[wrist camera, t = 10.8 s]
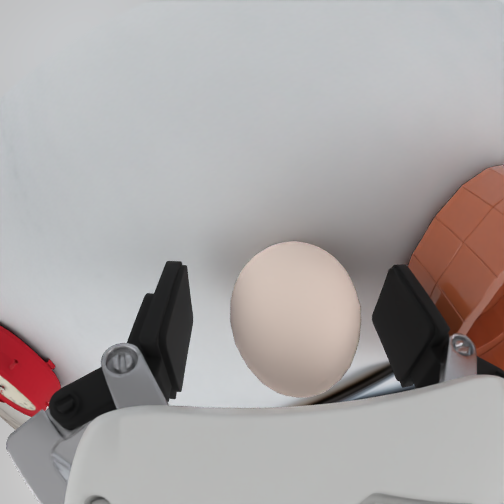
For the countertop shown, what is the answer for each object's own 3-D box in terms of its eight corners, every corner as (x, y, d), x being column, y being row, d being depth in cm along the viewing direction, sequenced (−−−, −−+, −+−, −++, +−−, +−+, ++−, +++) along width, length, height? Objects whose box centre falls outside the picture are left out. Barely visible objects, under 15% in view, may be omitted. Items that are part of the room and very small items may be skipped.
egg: (236, 212, 12) (229, 336, 6) (346, 222, 12) (415, 334, 6) (230, 300, 14) (224, 423, 9) (322, 305, 15) (353, 418, 9)
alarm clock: (79, 429, 18) (-11, 424, 16) (86, 376, 23) (0, 384, 21) (2, 353, 12) (-72, 361, 10) (28, 298, 17) (-50, 322, 15)
